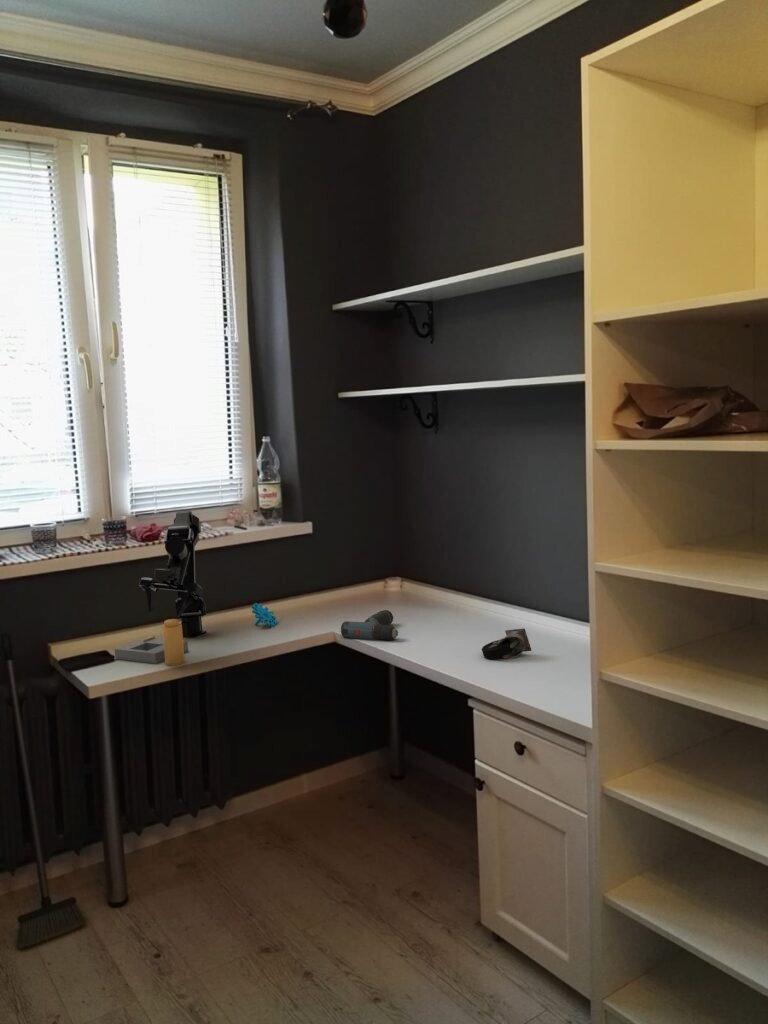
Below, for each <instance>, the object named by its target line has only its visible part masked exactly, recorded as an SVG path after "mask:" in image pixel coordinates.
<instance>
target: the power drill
mask: <svg viewBox="0 0 768 1024" xmlns="http://www.w3.org/2000/svg"><path fill="white" fill-rule="evenodd" d="M393 621H394V615H393V613H392V612H391V611H390V610H388V609H384V610H380V611H378V612H376V613H374V614H372V615H370V616H368V618H367V619H365V621H351V620H350V621H348V620H347V621H346V620H345V621H343V622H342V623H341V626H340V632H341V633H340V634H341V636H342V637H343V638H348V639H349V638H351V639H359V640H361V639H363V640H371V639H376V640H377V641H378V640H379V641H380V640H384V641H388V640H389V641H393V640H395V639H396V638H397V637H398V636H399V632H400V631H398V629H397V628H396V627H395V626H393V625H391V624H392V623H393Z"/></svg>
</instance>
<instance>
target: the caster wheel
mask: <svg viewBox="0 0 768 1024" xmlns="http://www.w3.org/2000/svg"><path fill="white" fill-rule="evenodd" d="M504 632H505V635H506V636H505V637H503V638H499V639H497V640H493V641H491V642H489V643H486V644H484V645H483V646H482V648H481V653H482V655H483V658H484V659H486V660H494V659H498V658H502V659H505V660H514V659H516V658H518V656H520V655H521V654H522V653H524V652H532V647H531V643H530V640H529V637H528V635H527V632H526V629H525V628H523V627H522V628H515V629H505V630H504Z"/></svg>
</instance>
